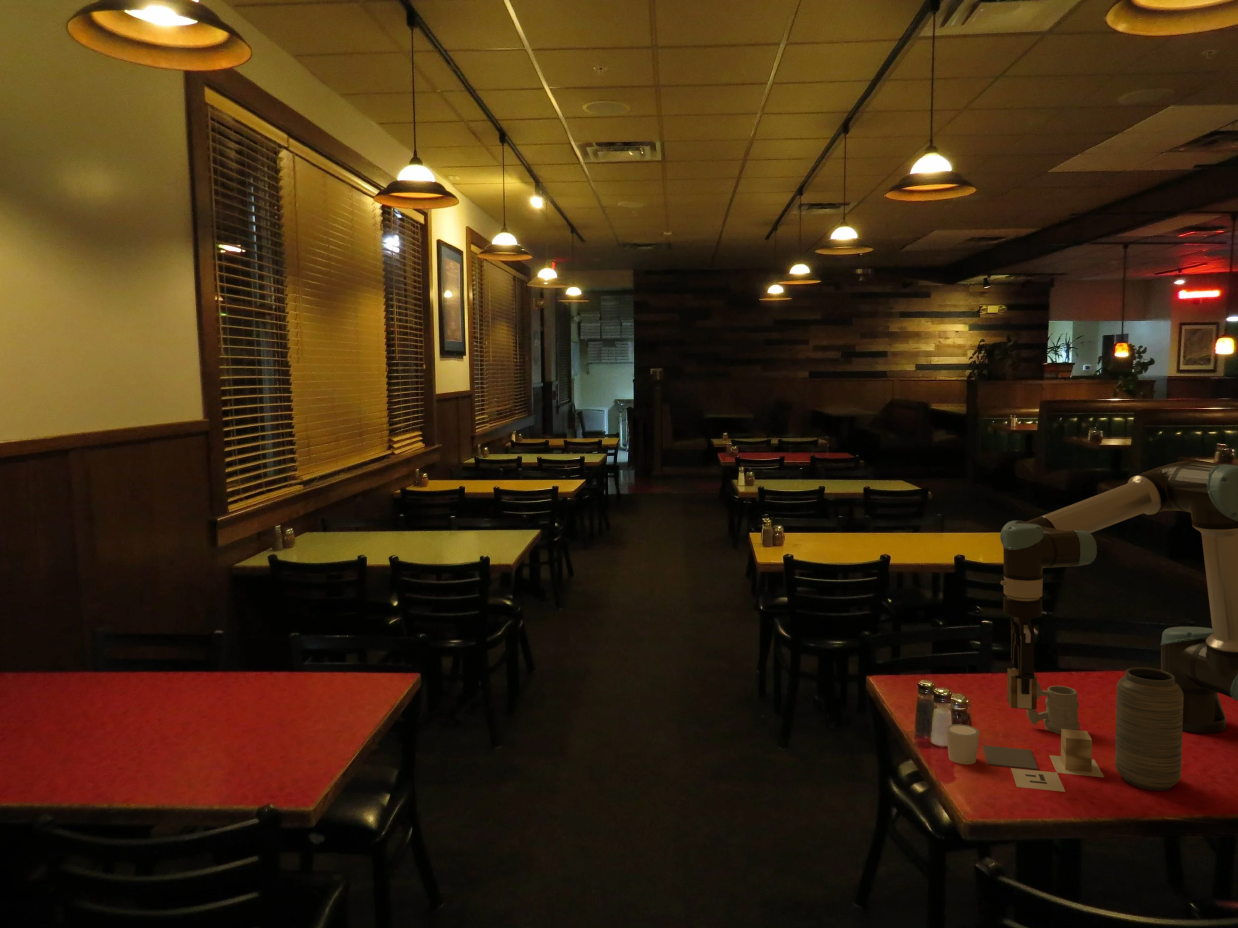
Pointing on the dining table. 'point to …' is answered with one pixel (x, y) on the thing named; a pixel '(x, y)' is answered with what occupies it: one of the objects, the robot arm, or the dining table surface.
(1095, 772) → the maple tile
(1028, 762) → the slate coaster
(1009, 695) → the walnut block
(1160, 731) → the vase
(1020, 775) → the white marker tile
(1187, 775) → the dining table surface
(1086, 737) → the maple block
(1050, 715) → the mug
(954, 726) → the beige short cylinder
